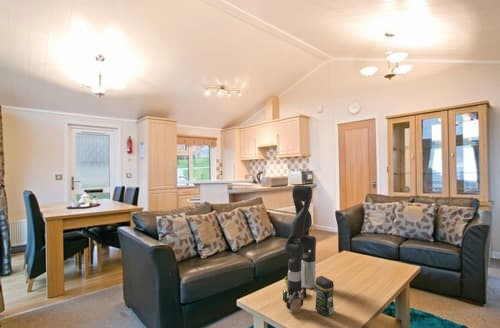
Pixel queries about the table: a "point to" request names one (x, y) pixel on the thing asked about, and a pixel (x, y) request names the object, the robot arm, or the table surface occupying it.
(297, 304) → the walnut block
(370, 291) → the table surface
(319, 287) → the coffee jar
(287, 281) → the plant pot
